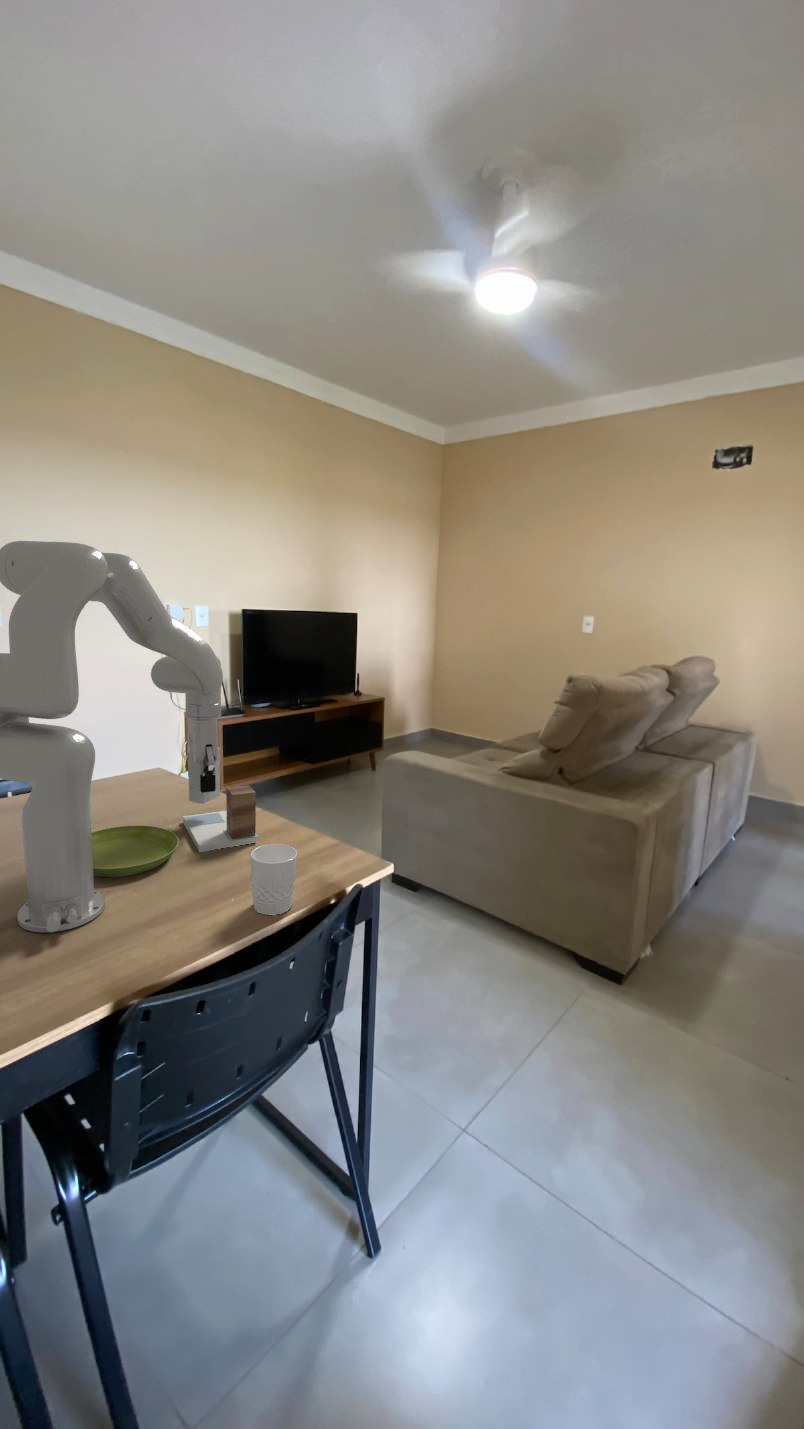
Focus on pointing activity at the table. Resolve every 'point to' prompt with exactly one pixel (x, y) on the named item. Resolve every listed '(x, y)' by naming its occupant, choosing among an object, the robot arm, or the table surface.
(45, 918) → the robot arm
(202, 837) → the build board
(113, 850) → the green plate
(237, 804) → the block
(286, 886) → the white cup
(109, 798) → the table surface
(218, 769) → the skincare box
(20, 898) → the table surface
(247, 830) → the block
